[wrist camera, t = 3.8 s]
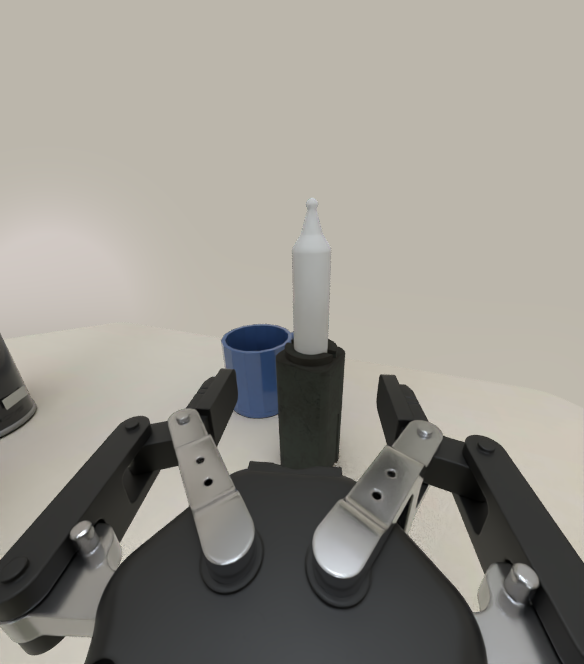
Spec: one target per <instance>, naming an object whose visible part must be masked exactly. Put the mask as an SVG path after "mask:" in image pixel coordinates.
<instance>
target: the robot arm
mask: <svg viewBox="0 0 584 664" xmlns="http://www.w3.org/2000/svg"><path fill="white" fill-rule="evenodd" d="M237 400H238V387H237V378H236V371H235V369H220V371H219V372H218V374H217V375H216V377H211V378H209V379H208V380H206V381H205V382H204V383H203V384H202V386H201V387H200V389H199V390H198V392H197V394H195V396H194V397H193V399H192V400H191V402H190V403H189V404H188V406H187V407H186V409H182V410H179V411H177V412H175V413H173V414H172V415H171V416H170V417H169V419H168V421H165V422H160V423H154V424H150V421H149V419H148V418H147V417H145V416H136V417H132V418H129V419H127V420H125V421H124V422H122V423H121V424H120V425H119V426H118V427H117V428H116V429H115V430H114V431H113V432H112V433H111V435H110V436H109V437H108V438H107V439H106V440H105V441H104V443H103V444H102V445H101V446H100V447H99V448H98V449H97V451H96V452H95V453H94V454H93V455H92V456H91V457H90V459H89V460H88V461H87V462H86V463H85V464H84V465H83V466H82V468H81V469H80V470H79V471H78V472H77V473H76V474H75V476H74V477H73V478H72V479H71V480H70V481H69V482H68V484H67V485H66V486H65V487H64V488H63V489H62V490H61V492H60V493H59V494H58V495H57V496H56V497H55V498H54V500H53V501H52V502H51V503H50V504H49V505H48V506H47V508H46V509H45V510H44V511H43V512H42V513H41V514H40V515H39V517H38V518H37V519H36V520H35V521H34V522H33V523H32V525H31V526H30V527H29V528H28V529H27V530H26V531H25V533H24V534H23V535H22V536H21V537H20V538H19V539H18V541H17V542H16V543H15V544H14V545H13V546H12V547H11V549H10V550H9V551H8V552H7V553H6V554H5V555H4V557H3V558H2V559H1V560H0V628H1V629H2V630H3V631H4V632H5V633H6V634H7V635H8V636H9V637H10V639H11V640H12V641H14V642H16V643H18V644H19V645H20V646H21V647H22V648H23V649H24V651H25V652H26V653H28V654H30V655H39V654H42V653H45V652H47V651H48V650H50V649H52V648H53V647H54V646H56V645H57V644H58V643H59V642H60V641H61V640H62V639H63V638H64V637H65V636H72V637H92V640H91V644H90V648H89V651H88V654H87V658H86V660H85V663H84V664H584V563H583V561H582V560H581V558H580V557H579V556H578V554H577V553H576V551H575V550H574V548H573V547H572V546H571V544H570V543H569V541H568V540H567V538H566V537H565V535H564V534H563V533H562V531H561V530H560V528H559V527H558V525H557V524H556V523H555V521H554V520H553V518H552V517H551V515H550V514H549V512H548V511H547V510H546V508H545V507H544V505H543V504H542V502H541V501H540V500H539V498H538V497H537V495H536V494H535V492H534V491H533V490H532V488H531V487H530V485H529V484H528V482H527V481H526V479H525V478H524V477H523V475H522V474H521V472H520V471H519V469H518V468H517V467H516V465H515V464H514V462H513V461H512V459H511V458H510V457H509V455H508V454H507V452H506V451H505V449H504V448H503V447H502V446H501V445H500V444H498V443H497V442H495V441H494V440H492V439H490V438H487V437H485V436H480V435H471V436H468V437H467V438H466V440H465V442H462V441H458V440H455V439H451V438H448V437H445V436H443V434H442V432H441V430H440V429H439V428H438V427H437V426H435V425H434V424H432V423H430V422H428V420H427V418H426V416H425V414H424V412H423V410H422V408H421V406H420V404H419V402H418V400H417V399H416V396H415V394H414V392H413V391H412V390H411V389H410V388H409V387H408V386H407V385H401V384H399V382H398V380H397V378H396V376H395V375H382V374H381V375H380V377H379V384H378V392H377V410H378V414H379V417H380V421H381V425H382V428H383V432H384V435H385V439H386V442H387V445H386V446H385V447H384V448H383V450H382V451H381V452H380V453H379V455H378V456H377V457H376V459H375V460H374V461H373V462H372V464H371V465H370V466H369V468H368V469H367V470H366V471H365V473H364V474H363V475H362V477H361V478H360V479H359V480H358V482H356V481H354V480H352V479H350V478H348V477H346V476H343V475H342V468H341V467H326V466H315V467H308V468H302V469H290V468H287V467H284V466H281V465H278V464H274V463H269V462H254V461H250V463H249V466H248V469H244V470H240V471H237V472H235V473H233V474H231V475H229V473H228V471H227V468H226V466H225V464H224V462H223V460H222V458H221V455H220V453H219V451H218V449H217V445H218V443H219V441H220V439H221V437H222V434H223V432H224V430H225V428H226V426H227V423H228V421H229V419H230V417H231V414H232V412H233V410H234V408H235V406H236V403H237ZM35 411H36V404H35V402H34V400H33V399H32V398H31V396H30V394H29V392H28V390H27V388H26V386H25V384H24V381H23V379H22V377H21V375H20V373H19V371H18V369H17V367H16V365H15V363H14V361H13V358H12V356H11V354H10V352H9V350H8V348H7V346H6V344H5V342H4V340H3V338H2V336H1V334H0V437H2V436H4V435H6V434H8V433H10V432H11V431H13V430H15V429H16V428H18V427H19V426H21V425H22V424H24V423H25V422H26V421H27V420H28V419H30V418H31V417H32V415H33V414H34V413H35ZM175 466H179V470H180V473H181V477H182V481H183V484H184V488H185V492H186V495H187V499H188V503H189V507H188V508H187V509H186V510H184V511H183V512H182V513H181V514H179V515H178V516H177V517H176V518H175V519H173V520H172V521H171V522H170V523H168V524H167V525H166V526H165V527H163V528H162V529H161V530H160V531H158V532H157V533H156V534H155V535H153V536H152V537H151V538H150V539H149V540H147V541H146V542H145V543H144V544H142V545H141V546H140V547H139V548H137V549H136V550H135V551H134V552H133V553H131V554H130V555H129V556H128V557H127V558H126V559H125V560H124V561H123V562H122V563H121V565H120V566H119V564H120V561H121V558H122V548H121V546H120V542H121V540H122V538H123V536H124V534H125V533H126V531H127V529H128V527H129V526H130V524H131V522H132V520H133V518H134V517H135V515H136V513H137V511H138V509H139V508H140V506H141V504H142V502H143V501H144V499H145V497H146V495H147V493H148V492H149V490H150V488H151V486H152V484H153V483H154V481H155V479H156V477H157V476H158V474H159V472H160V470H161V469H165V468H170V467H175ZM430 485H432V486H435V487H438V488H441V489H443V490H446V491H449V492H452V494H453V497H454V499H455V502H456V504H457V507H458V509H459V512H460V514H461V517H462V519H463V522H464V524H465V527H466V529H467V532H468V534H469V537H470V539H471V542H472V544H473V547H474V549H475V552H476V554H477V557H478V559H479V562H480V564H481V567H482V569H483V572H484V574H485V576H484V578H483V580H482V582H481V584H480V587H479V589H478V594H477V597H478V603H479V607H480V612H476V613H475V612H472V610H471V609H470V607H469V605H468V604H467V602H466V601H465V599H464V598H463V596H462V595H461V594H460V592H459V591H458V590H457V589H456V588H455V586H454V585H453V584H452V583H451V582H450V581H449V580H448V579H447V578H446V576H445V575H444V574H443V573H442V572H441V571H440V570H439V569H438V568H437V567H436V565H435V564H434V563H433V562H432V561H431V560H430V559H429V558H428V557H427V556H426V554H425V553H424V552H423V551H422V550H421V549H420V548H419V547H418V546H417V545H416V543H415V542H414V541H413V540H412V539H411V538H410V537H409V536H408V533H409V530H410V528H411V525H412V522H413V520H414V517H415V515H416V513H417V511H418V509H419V507H420V505H421V503H422V501H423V499H424V497H425V495H426V493H427V491H428V489H429V487H430ZM118 566H119V567H118Z"/></svg>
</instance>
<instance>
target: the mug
mask: <svg viewBox="0 0 584 664" xmlns="http://www.w3.org/2000/svg"><path fill="white" fill-rule="evenodd" d="M292 339H294V331H293V332H291V333H290V332H289V331H288V330H287V329H286V328H283V327H280V326H277V325H270V324H253V325H247V326H242V327H239V328H236V329H233V330H231V331H229V332H228V333H226V334H225V335H224V336H223V338H222V340H221V344H222V351H223V359H224V366H225V369H235V371H236V378H237V387H238V400H237V403H236V406H235V408H234V411H235V412H237V413H238V414H240V415H242V416H245V417H250V418H265V417H270V416H274V415H276V414H278V396H277V376H276V355H277V354H278V353H279V352H281V351H282V350H284V349H285V348H284V346H285V344H286V343H287V342H288V343H291V340H292Z"/></svg>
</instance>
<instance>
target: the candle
mask: <svg viewBox="0 0 584 664" xmlns="http://www.w3.org/2000/svg"><path fill="white" fill-rule="evenodd" d="M317 206H318V202H317V200H316V199H315V198H310V199H308V201H307V202H306V207H307V213H306V217H305V220H304V224H303V228H302V232H301V235H300V237H299V238H298V240H297V242H296V243H295V245H294V247H293V249H292V261H293V262H292V267H293V268H292V269H293V318H294V319H293V322H294V339H292V340H291V343H288V342H287V343H286V344H285V346H284V348H285V349H284V350H282V351H281V352H279V353H278V354H277V355H276V376H277V396H278V416H279V436H280V456H281V466H284V467H287V468H290V469H302V468H308V467H315V466H326V467H332V466H333V464H334V463H335V462H337V461H338V456H339V441H340V425H341V410H342V394H343V379H344V363H345V351H344V350H343V349H342V348H340V347H337V345H336V343H334V342H333V341H331V340H329V339H328V327H329V325H328V324H329V299H330V270H331V247H330V245H329V244H328V242H327V240H326V239H325V237H324V235H323V233H322V229H321V226H320V221H319V218H318V214H317V210H316V208H317Z"/></svg>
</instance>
